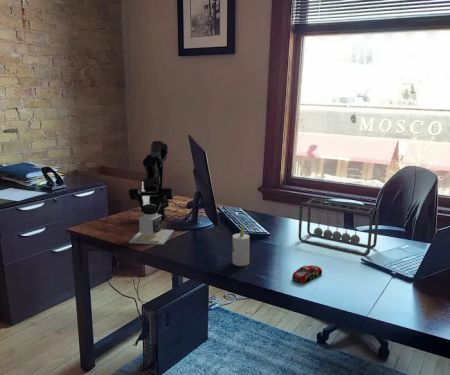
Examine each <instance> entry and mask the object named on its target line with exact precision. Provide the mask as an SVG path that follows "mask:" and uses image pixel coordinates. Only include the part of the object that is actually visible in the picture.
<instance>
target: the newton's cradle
mask: <svg viewBox="0 0 450 375" xmlns="http://www.w3.org/2000/svg"><path fill="white" fill-rule="evenodd" d="M312 201H316V202H320V203H315V202H312ZM324 203H329V204H328V205H325V204H324ZM333 204H335V205H338V206H333ZM304 206H307V227H306V228H307V229H306V232H307V234H308V235H309V236H308V237H306V238H305V239H303V238H302V227H303V226H302V225H303V224H302V223H303V207H304ZM339 206H340V207H339ZM341 206H345V207H341ZM346 206H347V207H346ZM312 207H315V208H317V209H318V212H317V213H318V214H317V215H318V217H317V218H318V220H317V222H318V223H317V227H316V228H315V229H313V233H312V232H311V231H310V230H311V228H310V227H311V213H312V212H311V210H312ZM351 207H353V208H358V209H351ZM320 208H321V211H320ZM323 209H326V211H327V212H326V214H327V215H326V216H327V220H328V223H330V222H331V218H329V215H331V212H332V210H334V211H336V213H335V214H336V216H335V218H336V219H337V224H339V222H340V219H338V216H340V214H341V212H345V213H350V214H351V213H352V214H355V216H354V217H355V218H354V220H355V221H354V230H355V231H357V229H358V226H357V224H358V223H359V221H358V220H359V219H357V220H356V218H357V217H356V216H359V215H364V216H368V217H369V225H368V235H367V237H368V238H367V244H365V243H360V241H361V238H360V236H359V235H357V233H354V234H353V235H351V234H349V233H347V232H348V229H345V232H344V233H342V234H341V232H340V231H338V229H339V227H336V231H333V232H332V230H330V226H327V229H325V230H323V229H322V228H321V227H320V224H321V222H320V220H321V216H320V214H322V212H323ZM360 209H364V210H360ZM365 209H367V210H369V211H365ZM373 210H374V211H375V224H374V231H373V223H374V217H373V215H372V213H371V212H372V211H373ZM329 211H330V212H329ZM338 211H339V212H338ZM350 214H348V217H347V219H350V218H349V217H350ZM379 217H380V210H379V209H378V207H376V206H372V205H365V204H359V203H352V202H347V201H346V202H345V201H339V200H333V199H332V200H331V199H327V198H326V199H325V198H321V197H320V198H318V197H310V199H308V201H307V202H304V201H303V202H301V203H300V205H299V215H298V218H299V219H298V240H299V241H300V242H301V243H305V244H309V245H313V246H317V247H322V248H326V249H331V250H335V251H341V252H345V253H350V254H355V255H360V256H363V257H366V256H368V255H369V254H370V253H371V249H374V248H375V247H376V246H377V240H378V228H379V219H380V218H379ZM348 225H349V222H346V227H348ZM372 232H374V235H373V242H372ZM310 237H316V238H320V239H324V240H329V241H334V242H339V243H344V244H348V245H353V246H358V247H361V248H362V247H363V248H366V250H365V251H364V252H361V251H357V250H352V249H349V248H344V247H338V246H335V245H334V246H333V245H329V244H325V243H320V242H316V241H310V240H308V239H309V238H310ZM372 243H373V244H372Z"/></svg>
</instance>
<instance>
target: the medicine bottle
mask: <svg viewBox="0 0 450 375" xmlns="http://www.w3.org/2000/svg"><path fill="white" fill-rule="evenodd" d="M142 214H143V215H141V216H139V217H138V223H139V231H140V233H144V234H149V235H155V234H156V233H158V232H160V231H161V230H162V229H163V220H162V215H159V214H158V213H157V205H155V204H150V203H147V204H145V205H144V204H143V212H142Z"/></svg>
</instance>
